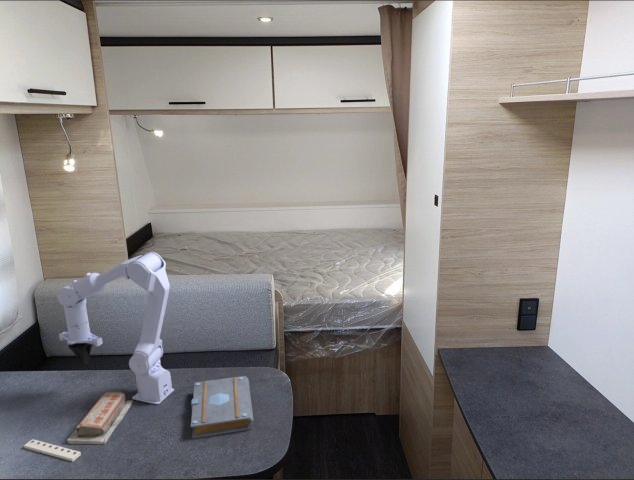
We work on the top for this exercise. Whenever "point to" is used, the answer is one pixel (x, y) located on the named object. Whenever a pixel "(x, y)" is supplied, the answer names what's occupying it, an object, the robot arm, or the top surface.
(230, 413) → the book
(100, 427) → the packaged product
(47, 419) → the top surface
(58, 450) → the perforated board
